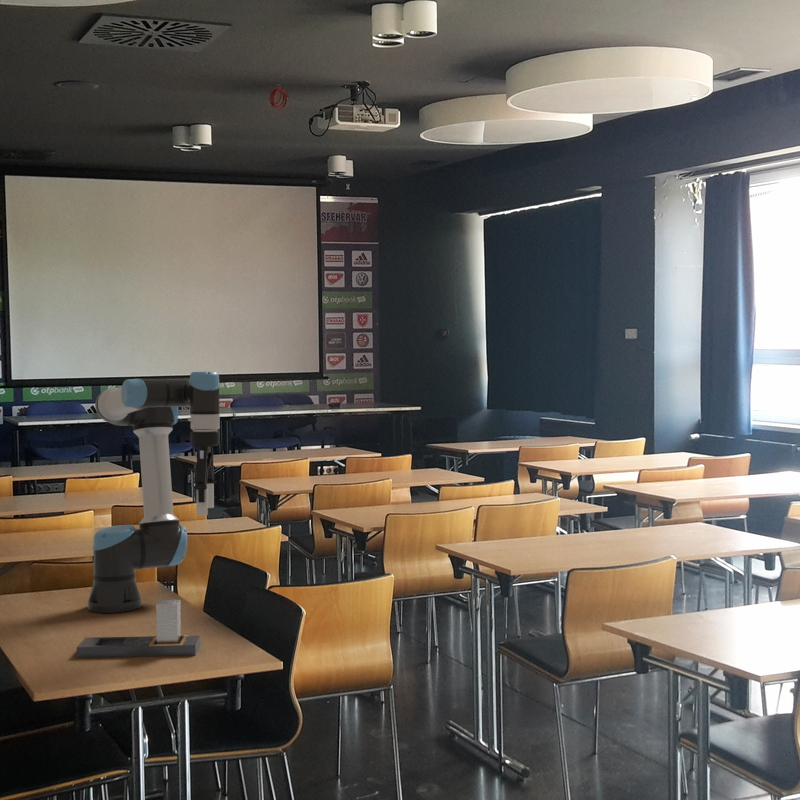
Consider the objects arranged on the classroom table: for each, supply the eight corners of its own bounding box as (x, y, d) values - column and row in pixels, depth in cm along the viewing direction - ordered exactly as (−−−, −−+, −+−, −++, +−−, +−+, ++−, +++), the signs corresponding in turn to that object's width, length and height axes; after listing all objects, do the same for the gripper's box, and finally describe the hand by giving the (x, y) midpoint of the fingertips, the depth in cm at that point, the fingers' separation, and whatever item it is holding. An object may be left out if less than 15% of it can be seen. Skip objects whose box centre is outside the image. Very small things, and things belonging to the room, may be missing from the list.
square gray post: (160, 648, 255) (159, 600, 254) (180, 648, 255) (180, 599, 255) (156, 653, 250) (156, 604, 249) (177, 653, 250) (177, 604, 250)
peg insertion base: (85, 647, 255) (85, 636, 255) (200, 645, 257) (200, 634, 257) (76, 657, 246) (76, 646, 246) (195, 655, 248) (195, 644, 248)
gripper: (196, 427, 282) (197, 505, 283) (183, 433, 257) (183, 518, 258) (224, 427, 283) (225, 504, 283) (213, 433, 258) (214, 518, 258)
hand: (205, 511), depth 271 cm, fingers open, 13 cm apart
